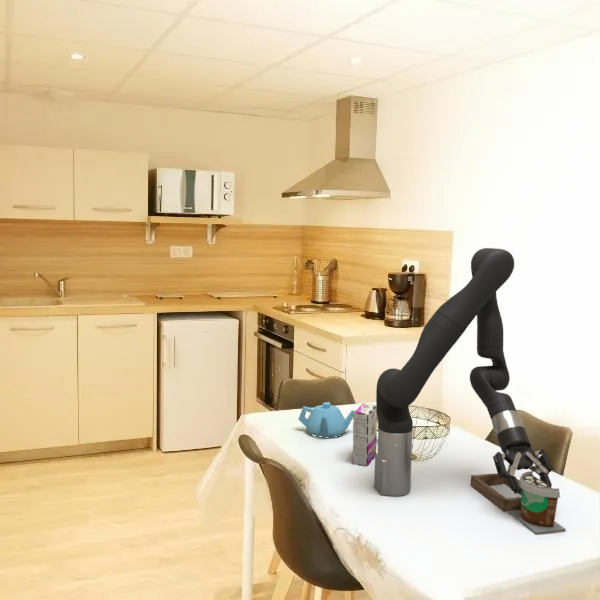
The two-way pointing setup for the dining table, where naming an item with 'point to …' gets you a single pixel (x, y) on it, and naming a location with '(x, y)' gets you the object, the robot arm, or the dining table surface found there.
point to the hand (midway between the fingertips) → (533, 491)
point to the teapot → (325, 420)
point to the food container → (538, 500)
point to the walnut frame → (483, 487)
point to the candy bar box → (364, 434)
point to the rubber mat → (535, 528)
